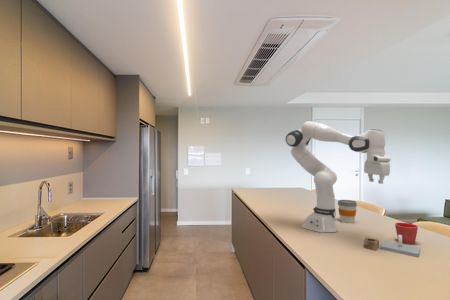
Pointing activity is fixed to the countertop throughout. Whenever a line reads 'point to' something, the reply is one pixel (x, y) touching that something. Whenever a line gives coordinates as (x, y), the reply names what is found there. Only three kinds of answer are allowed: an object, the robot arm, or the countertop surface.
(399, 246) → the post block
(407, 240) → the flower pot
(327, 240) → the countertop surface
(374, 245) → the collar
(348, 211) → the reusable coffee cup
